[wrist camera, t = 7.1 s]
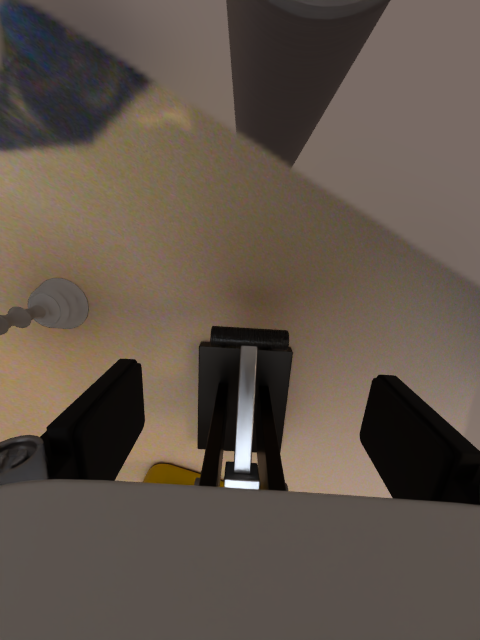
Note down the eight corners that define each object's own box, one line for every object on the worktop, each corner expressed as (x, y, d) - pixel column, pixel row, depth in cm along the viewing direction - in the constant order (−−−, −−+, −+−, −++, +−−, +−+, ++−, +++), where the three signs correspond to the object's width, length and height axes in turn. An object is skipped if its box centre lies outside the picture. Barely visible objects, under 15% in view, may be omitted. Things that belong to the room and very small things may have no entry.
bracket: (201, 341, 25) (159, 429, 13) (290, 347, 25) (334, 440, 13) (199, 441, 29) (165, 586, 16) (278, 446, 29) (304, 595, 16)
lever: (214, 327, 19) (210, 324, 16) (284, 331, 19) (291, 329, 16) (201, 502, 18) (195, 526, 15) (276, 506, 18) (282, 532, 15)
